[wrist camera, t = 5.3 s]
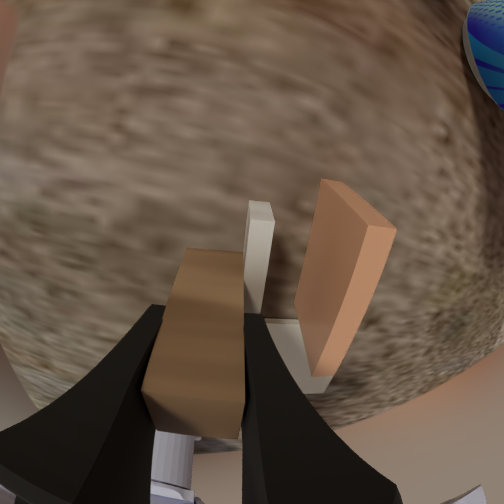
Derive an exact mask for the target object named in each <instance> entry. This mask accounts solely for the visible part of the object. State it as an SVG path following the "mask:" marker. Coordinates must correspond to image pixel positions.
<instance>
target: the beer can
mask: <svg viewBox="0 0 504 504" xmlns="http://www.w3.org/2000/svg"><path fill="white" fill-rule="evenodd" d="M462 38H463V45H464V50H465V53H466V57H467V60H468V63H469V65H470V68H471V70H472V72H473V74H474V76H475V78H476V80H477V81H478V83H479V85H480V86H481V88H482V89H483V90H484V91H485V93H486V94H487V95H488V96H489V97H490V98H491V99H493V100H494V102H495V103H496V104H497V105H498V106H499V107H500V108H501V109H502V110H503V111H504V0H486V1H481V2H476V3H474V4H473V5H472V6H471V7H470V8H469V10H468V13H467V17H466V19H465V20H464V23H463V28H462Z"/></svg>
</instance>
